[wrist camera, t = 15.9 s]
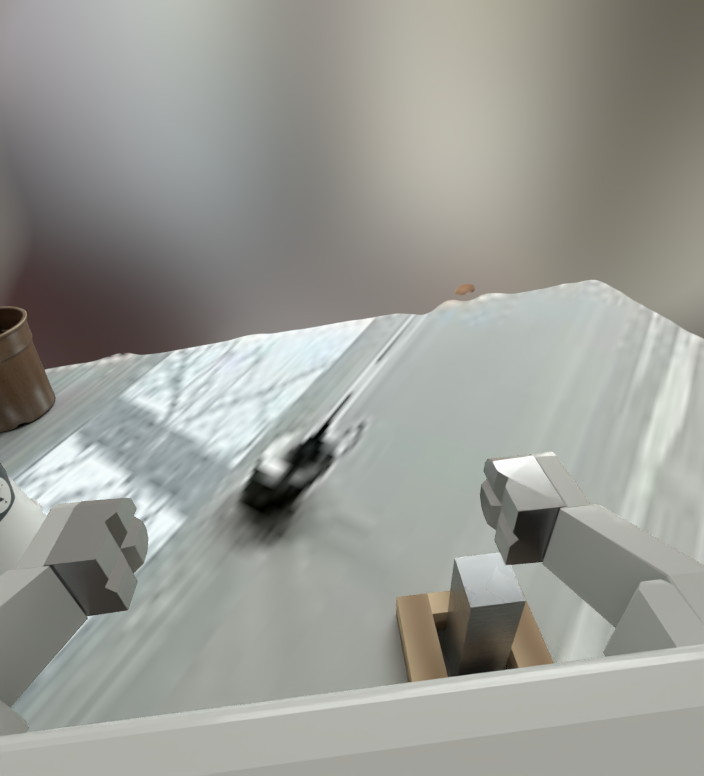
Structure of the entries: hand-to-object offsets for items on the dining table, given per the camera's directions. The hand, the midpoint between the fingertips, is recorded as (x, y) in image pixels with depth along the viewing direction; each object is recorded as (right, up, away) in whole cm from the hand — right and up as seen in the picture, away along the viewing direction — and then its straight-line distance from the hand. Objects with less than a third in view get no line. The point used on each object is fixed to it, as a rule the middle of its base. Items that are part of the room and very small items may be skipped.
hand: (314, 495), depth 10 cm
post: (+12, -22, +30) cm, 39 cm away
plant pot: (-57, -2, +66) cm, 88 cm away
